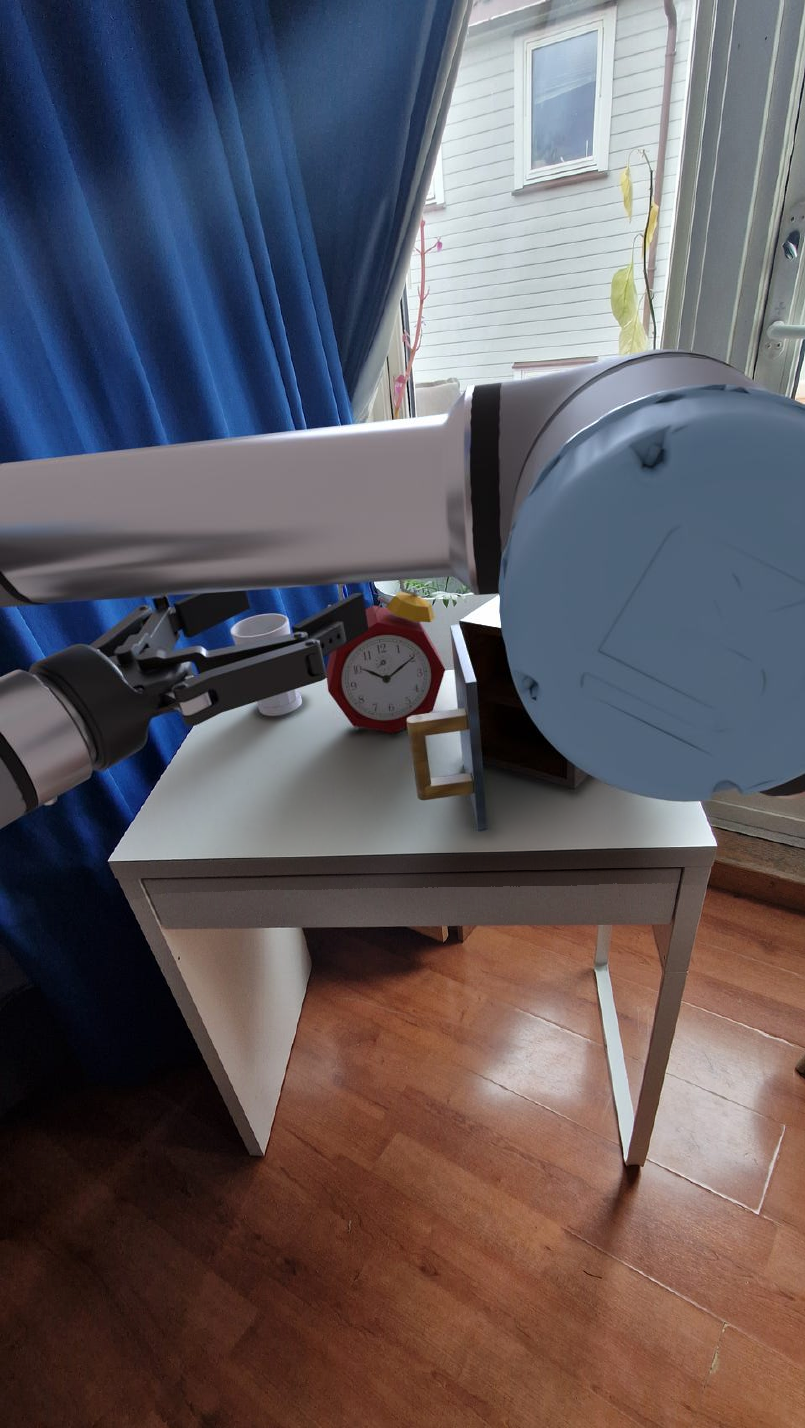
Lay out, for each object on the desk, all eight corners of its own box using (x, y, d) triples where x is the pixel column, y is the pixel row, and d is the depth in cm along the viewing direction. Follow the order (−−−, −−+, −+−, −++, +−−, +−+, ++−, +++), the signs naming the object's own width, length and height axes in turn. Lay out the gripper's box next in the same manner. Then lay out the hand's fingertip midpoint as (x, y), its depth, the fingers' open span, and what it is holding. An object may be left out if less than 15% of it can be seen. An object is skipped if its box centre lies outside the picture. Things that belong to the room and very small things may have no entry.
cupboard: (574, 789, 79) (578, 640, 68) (470, 758, 87) (458, 620, 76) (621, 742, 85) (630, 599, 74) (519, 718, 93) (515, 584, 82)
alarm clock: (339, 744, 94) (306, 589, 81) (335, 714, 100) (304, 567, 88) (451, 723, 94) (434, 566, 81) (439, 695, 101) (423, 545, 88)
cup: (312, 690, 107) (293, 611, 100) (301, 716, 101) (281, 634, 94) (261, 694, 109) (239, 616, 101) (247, 720, 103) (223, 639, 95)
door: (423, 837, 76) (402, 692, 65) (414, 768, 87) (395, 633, 76) (487, 829, 76) (476, 681, 65) (470, 760, 86) (459, 624, 76)
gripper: (-1, 732, 55) (214, 626, 66) (201, 828, 41) (428, 672, 52) (-54, 637, 50) (187, 540, 61) (153, 708, 36) (415, 566, 47)
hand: (299, 601), depth 57 cm, fingers open, 13 cm apart
